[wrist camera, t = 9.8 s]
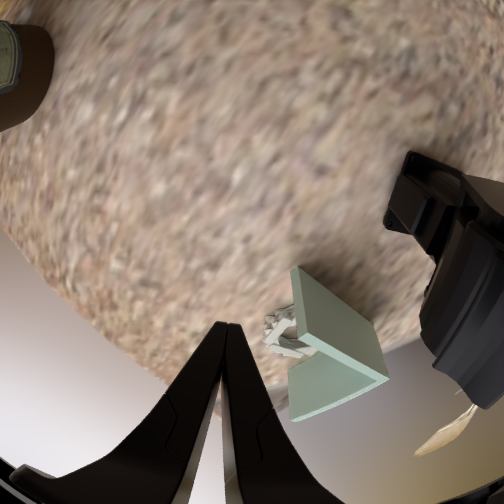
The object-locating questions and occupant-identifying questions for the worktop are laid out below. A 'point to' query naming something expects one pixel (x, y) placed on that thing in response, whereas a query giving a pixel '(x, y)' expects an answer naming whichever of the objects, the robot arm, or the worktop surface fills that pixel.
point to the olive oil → (23, 71)
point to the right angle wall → (324, 348)
